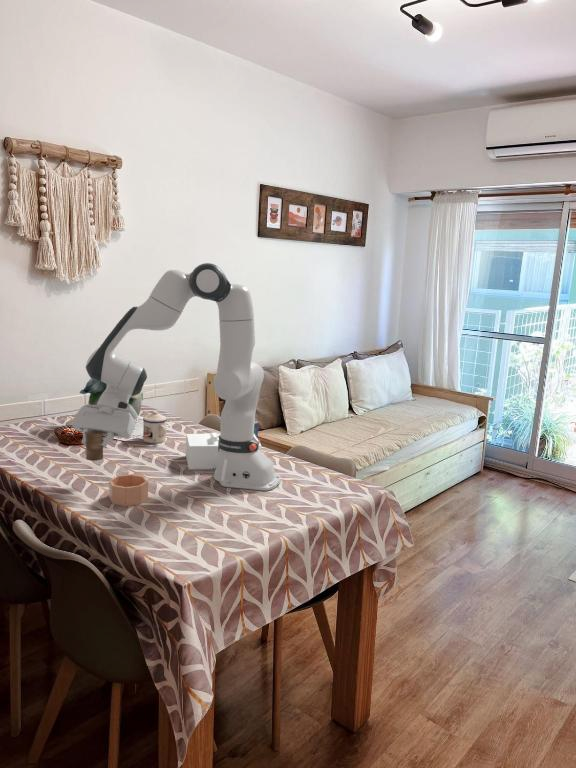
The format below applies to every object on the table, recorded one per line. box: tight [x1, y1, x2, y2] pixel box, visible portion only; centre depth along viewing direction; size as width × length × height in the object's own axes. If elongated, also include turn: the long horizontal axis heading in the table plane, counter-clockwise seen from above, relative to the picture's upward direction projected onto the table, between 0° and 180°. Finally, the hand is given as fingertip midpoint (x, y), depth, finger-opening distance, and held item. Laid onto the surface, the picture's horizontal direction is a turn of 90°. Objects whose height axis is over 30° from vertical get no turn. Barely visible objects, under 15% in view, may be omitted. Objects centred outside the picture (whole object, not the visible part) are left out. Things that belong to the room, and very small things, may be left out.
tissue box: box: [185, 432, 262, 470], centre depth 211 cm, size 14×25×11 cm, turn 104°
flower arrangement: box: [79, 378, 144, 417], centre depth 242 cm, size 25×25×24 cm
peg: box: [85, 431, 104, 462], centre depth 182 cm, size 5×5×8 cm
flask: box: [254, 420, 259, 440], centre depth 232 cm, size 9×3×11 cm, turn 144°
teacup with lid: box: [142, 410, 167, 444], centre depth 229 cm, size 12×9×12 cm
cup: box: [108, 473, 149, 507], centre depth 174 cm, size 10×10×6 cm
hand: (93, 445), depth 181 cm, fingers closed on peg, 5 cm apart
